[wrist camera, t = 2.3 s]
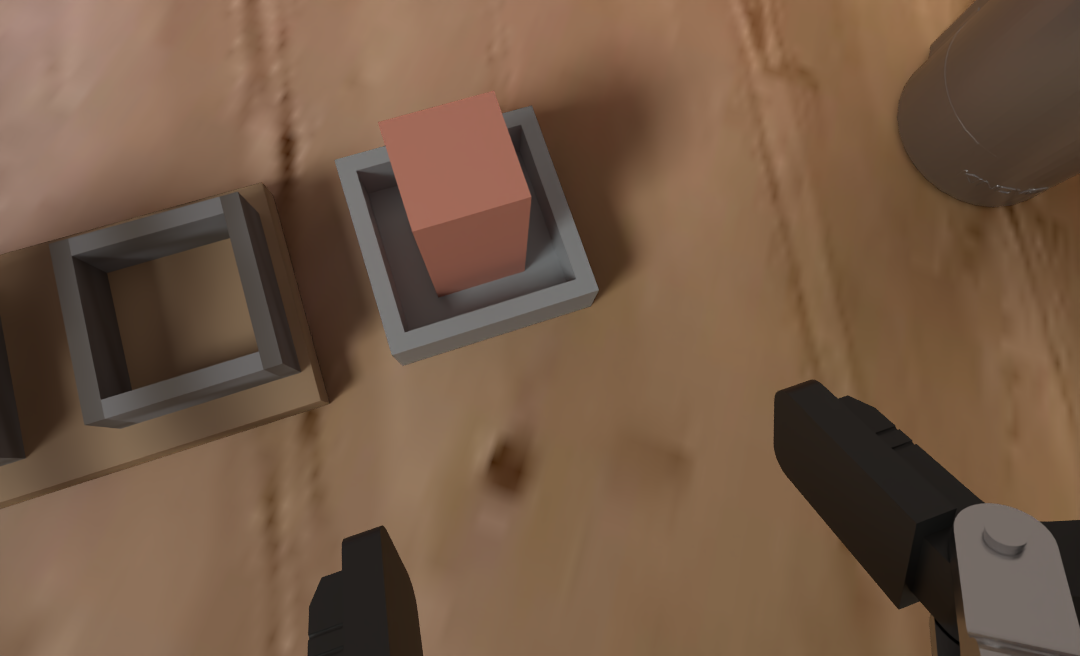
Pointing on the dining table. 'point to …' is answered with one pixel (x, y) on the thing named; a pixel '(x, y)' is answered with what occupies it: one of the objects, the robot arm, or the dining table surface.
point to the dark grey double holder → (148, 341)
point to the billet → (461, 191)
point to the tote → (484, 310)
